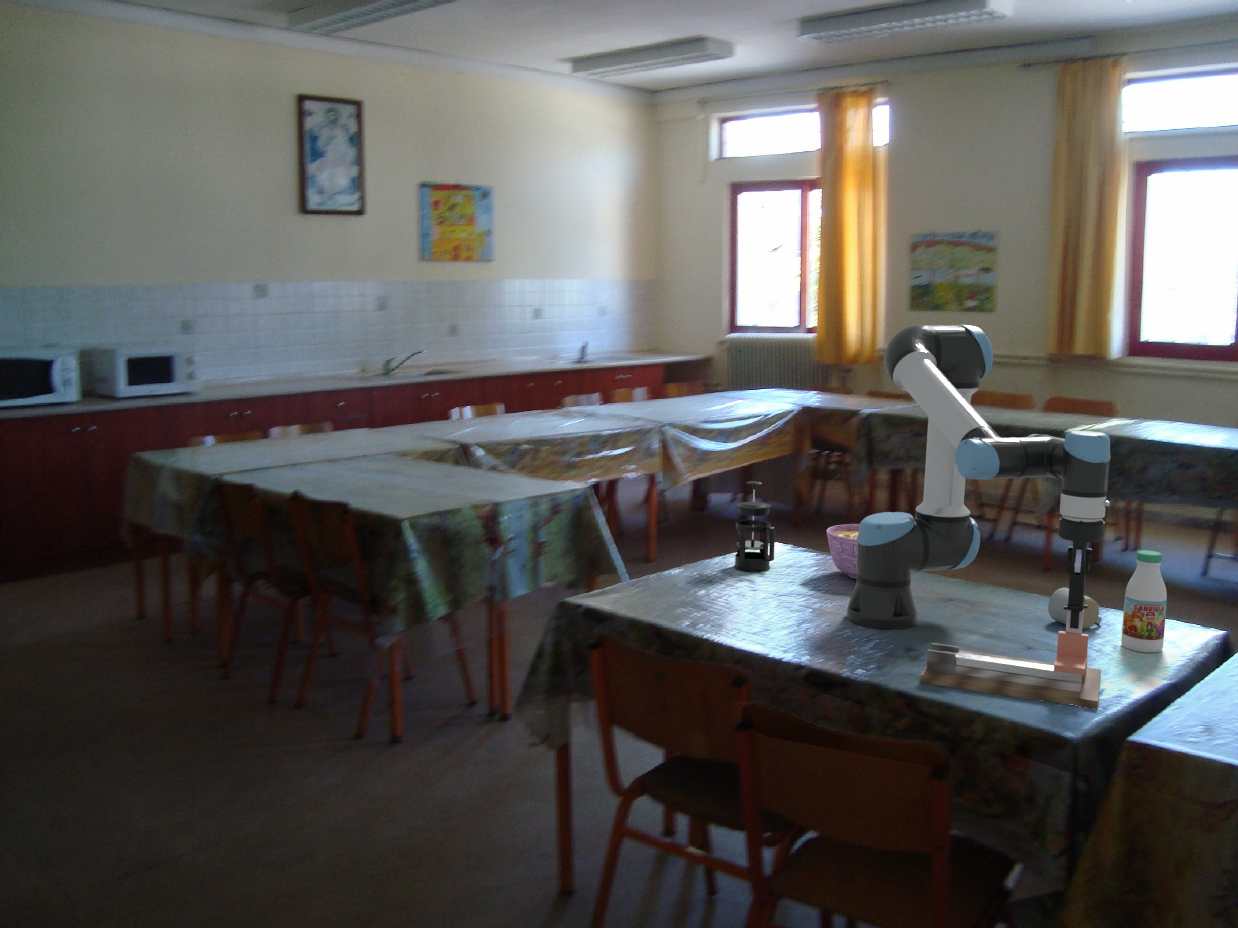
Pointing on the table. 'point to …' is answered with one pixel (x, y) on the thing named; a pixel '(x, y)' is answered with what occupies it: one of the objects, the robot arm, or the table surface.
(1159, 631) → the milk bottle
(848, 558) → the bowl of food
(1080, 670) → the bracket
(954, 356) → the robot arm
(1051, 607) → the ceramic mug
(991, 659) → the tong arm
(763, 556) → the french press
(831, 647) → the table surface
